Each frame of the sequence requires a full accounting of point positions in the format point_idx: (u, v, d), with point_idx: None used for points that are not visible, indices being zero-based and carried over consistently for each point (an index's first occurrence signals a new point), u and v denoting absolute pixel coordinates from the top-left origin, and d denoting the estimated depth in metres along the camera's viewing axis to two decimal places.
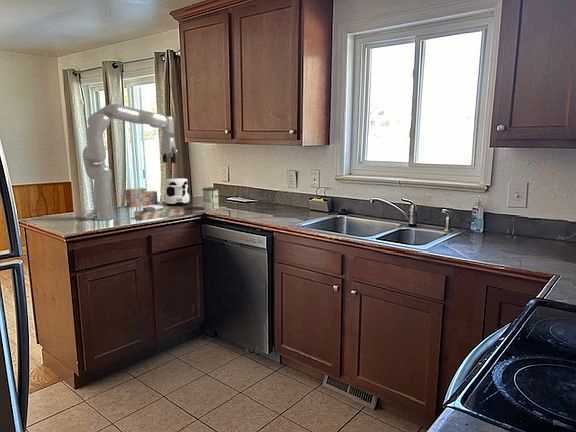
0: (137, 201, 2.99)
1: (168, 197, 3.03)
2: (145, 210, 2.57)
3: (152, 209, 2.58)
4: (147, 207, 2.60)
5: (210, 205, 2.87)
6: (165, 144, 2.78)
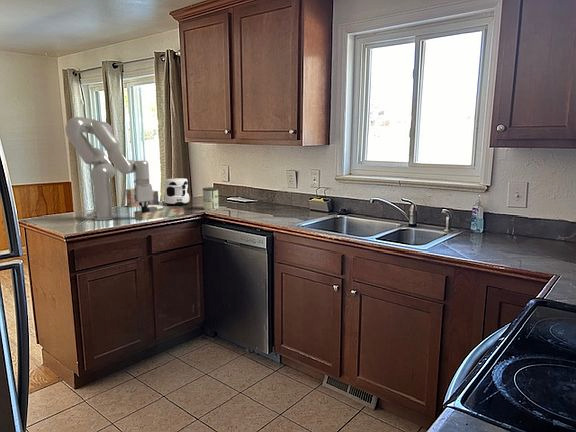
0: None
1: (168, 197, 3.03)
2: (147, 210, 2.58)
3: (154, 209, 2.59)
4: (149, 207, 2.61)
5: (210, 205, 2.87)
6: (146, 191, 2.54)
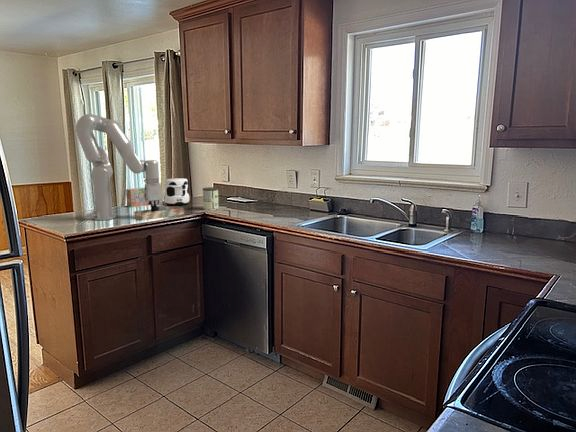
0: (138, 201, 3.00)
1: (168, 197, 3.03)
2: (157, 208, 2.63)
3: (164, 207, 2.64)
4: (158, 206, 2.66)
5: (210, 205, 2.87)
6: (156, 190, 2.58)
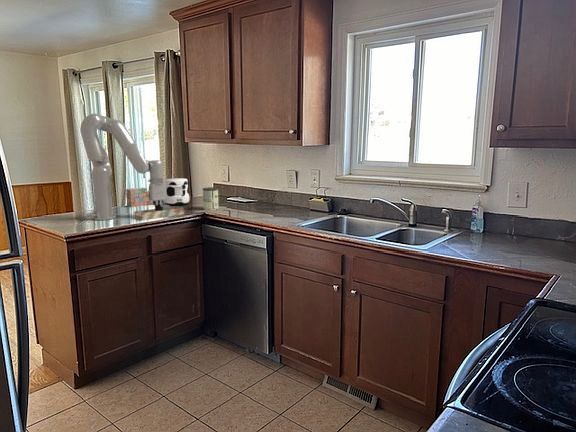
0: (138, 201, 3.01)
1: (168, 197, 3.03)
2: (161, 208, 2.65)
3: (167, 207, 2.66)
4: (162, 205, 2.68)
5: (210, 205, 2.87)
6: (160, 190, 2.60)
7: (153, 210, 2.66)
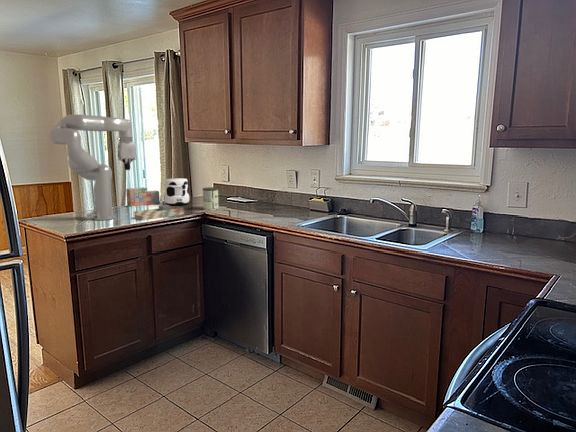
0: (137, 201, 3.02)
1: (168, 197, 3.03)
2: (161, 208, 2.65)
3: (167, 207, 2.66)
4: (162, 205, 2.68)
5: (210, 205, 2.87)
6: (129, 148, 2.68)
7: (153, 210, 2.66)
